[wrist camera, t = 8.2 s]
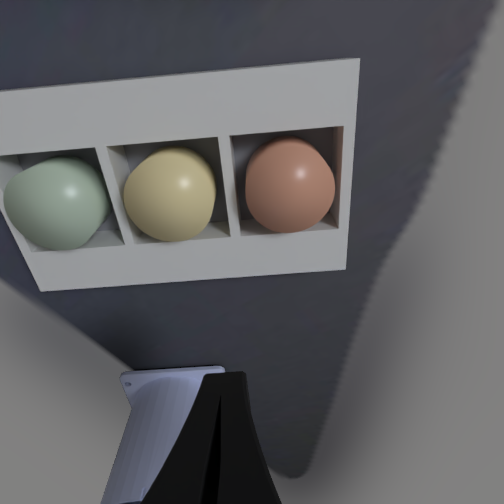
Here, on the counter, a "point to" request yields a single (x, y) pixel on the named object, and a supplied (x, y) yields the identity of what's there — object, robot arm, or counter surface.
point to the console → (201, 141)
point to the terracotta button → (288, 185)
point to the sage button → (58, 202)
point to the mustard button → (171, 194)
